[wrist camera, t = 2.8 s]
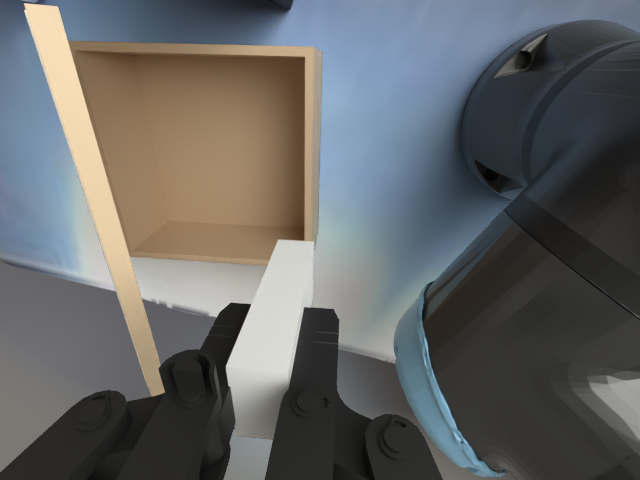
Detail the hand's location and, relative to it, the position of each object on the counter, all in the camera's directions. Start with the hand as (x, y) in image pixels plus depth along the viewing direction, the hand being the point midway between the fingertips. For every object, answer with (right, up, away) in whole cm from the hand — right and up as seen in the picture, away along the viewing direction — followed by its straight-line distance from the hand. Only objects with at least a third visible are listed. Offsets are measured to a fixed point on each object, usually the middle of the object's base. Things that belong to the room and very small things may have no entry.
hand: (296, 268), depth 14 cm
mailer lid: (-13, +4, +7) cm, 15 cm away
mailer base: (-8, +11, +20) cm, 24 cm away
